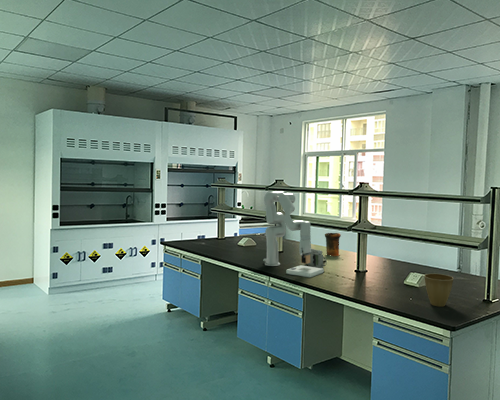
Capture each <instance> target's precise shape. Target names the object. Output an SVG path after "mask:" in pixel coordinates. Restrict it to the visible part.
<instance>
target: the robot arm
mask: <svg viewBox="0 0 500 400" xmlns="http://www.w3.org/2000/svg"><path fill="white" fill-rule="evenodd" d="M263 201H264V207H265V218H266V219H265V220H266V223H267V224H268V225H270V226H268V227H266V228H265V230H264V231H265V238H266V258H263V262H264V266H268V267H277V266H280V265H281V263H280V261H279V241H278V240H277V238H283V237H284V236H285V235H286V227H287V228H288V230H289V231H290V232H291V231H292V232H293V231H300V233H299V234H300V236H299V237H300V238H299V239H300V240H299V246H298V247H299V248H298V250H299V251H298V252H299V255H300V258H301V257H302V263H301V264H305V263H306V258H305V254H306V253H307V254H310V253H311V249H312V243H311V238H312V237H311V235H312V234H311V221H308V220H303V219H302V220H298V219H297V220H293V219H292V217H291V214H292V213H294V212H295V210H296V208H295V205H294V203H295V202H296V196H295V194H294V193H292V192H287V191H282V190H281V191H268V192H267V193H265V194H264V198H263ZM276 202H277V203H279V204H280V206H281V208H282V210H283V212H284V213H282V212H280V211H278V212H277V206H276V204H275V203H276ZM303 254H304V255H303Z"/></svg>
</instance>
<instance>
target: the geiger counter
mask: <svg viewBox="0 0 500 400" xmlns="http://www.w3.org/2000/svg"><path fill="white" fill-rule="evenodd" d="M324 261H325V264H324ZM327 263H328V262H327V259H326V258H325V257H324V254H323V251H322V250H321V249H315V248H311V253H310V263H308V264H306V266H307V265H308V266H310V267H316V268H322V269H324V267H326V266H327Z"/></svg>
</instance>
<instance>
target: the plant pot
mask: <svg viewBox="0 0 500 400" xmlns="http://www.w3.org/2000/svg"><path fill="white" fill-rule="evenodd" d="M424 283H425V289H426V292H427V298H428V300H429V303H430V305H432V306H434V307H445V306H446V304H447V302H448V299H449V297H450V295H451V291H452V287H453V283H454V277H453V276H452V275H448V274H443V273H426V274H424Z"/></svg>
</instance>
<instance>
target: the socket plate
mask: <svg viewBox="0 0 500 400" xmlns="http://www.w3.org/2000/svg"><path fill="white" fill-rule="evenodd" d="M323 273H324V268H317V267H314V266H310V265H308V266H307V265H301V264H300V265H297V266H294V267H291V268H288V269H286V274H287V275H292V276H297V277H303V278H313V277H316V276H318V275H321V274H323Z"/></svg>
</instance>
